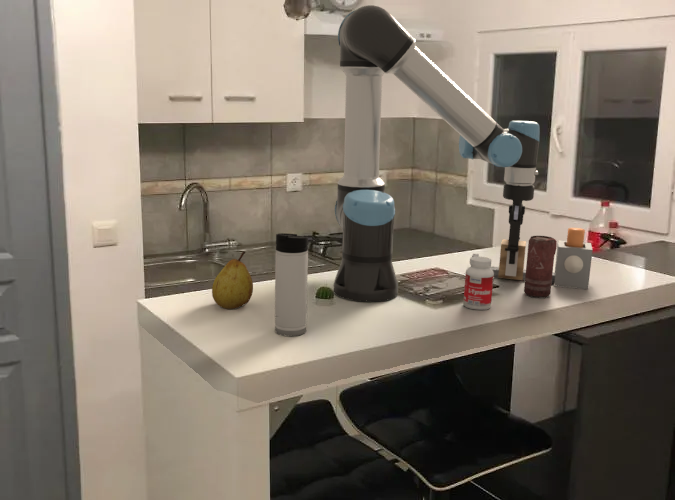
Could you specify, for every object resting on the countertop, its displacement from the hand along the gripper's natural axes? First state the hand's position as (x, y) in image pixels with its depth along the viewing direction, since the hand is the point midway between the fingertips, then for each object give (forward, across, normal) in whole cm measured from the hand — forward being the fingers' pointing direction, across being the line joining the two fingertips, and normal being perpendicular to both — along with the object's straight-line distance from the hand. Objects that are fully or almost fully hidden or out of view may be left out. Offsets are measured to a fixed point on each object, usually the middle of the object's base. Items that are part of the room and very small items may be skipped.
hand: (511, 272), depth 189 cm
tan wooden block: (+1, 0, 0) cm, 1 cm away
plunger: (-6, 0, -15) cm, 16 cm away
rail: (+1, 0, -1) cm, 2 cm away
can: (+2, -14, -7) cm, 15 cm away
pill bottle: (+2, -28, +6) cm, 29 cm away
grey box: (+1, 0, -15) cm, 15 cm away
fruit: (+2, -47, +57) cm, 74 cm away
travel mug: (+2, -58, +40) cm, 71 cm away
